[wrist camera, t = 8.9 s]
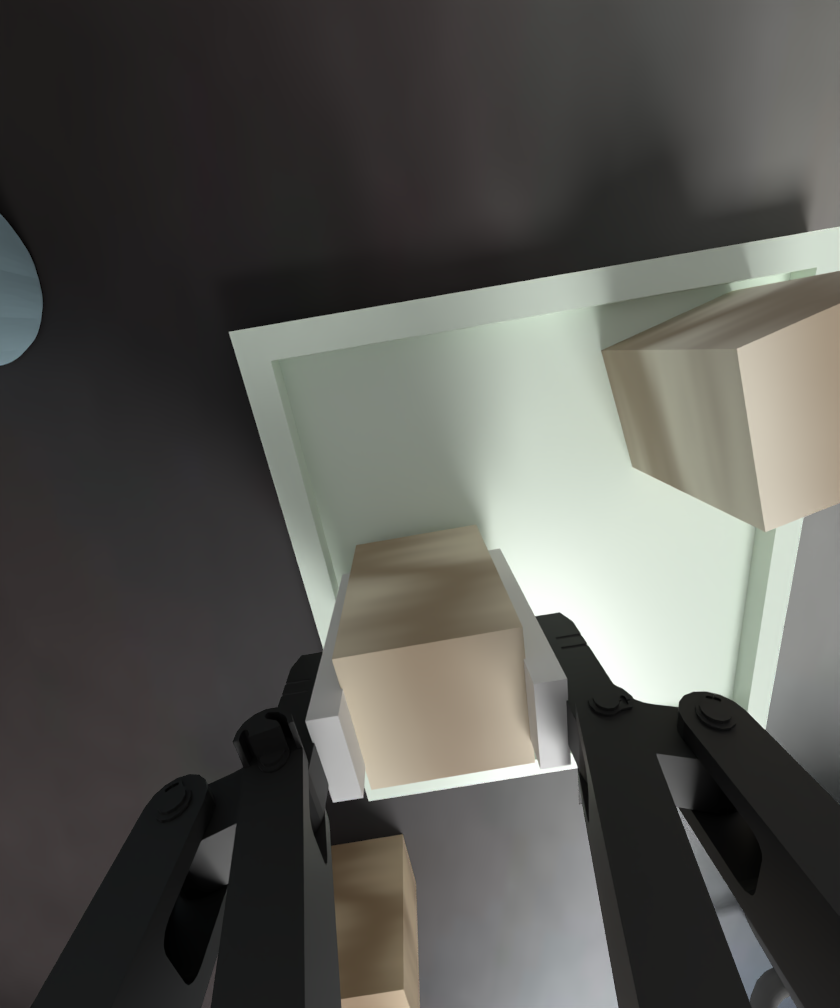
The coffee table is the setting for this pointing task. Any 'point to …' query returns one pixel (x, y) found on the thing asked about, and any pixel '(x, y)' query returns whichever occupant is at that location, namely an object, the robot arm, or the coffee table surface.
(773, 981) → the mug
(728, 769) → the robot arm
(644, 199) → the coffee table surface
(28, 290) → the cup
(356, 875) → the oak block
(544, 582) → the tray
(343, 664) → the beech block
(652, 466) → the maple block
